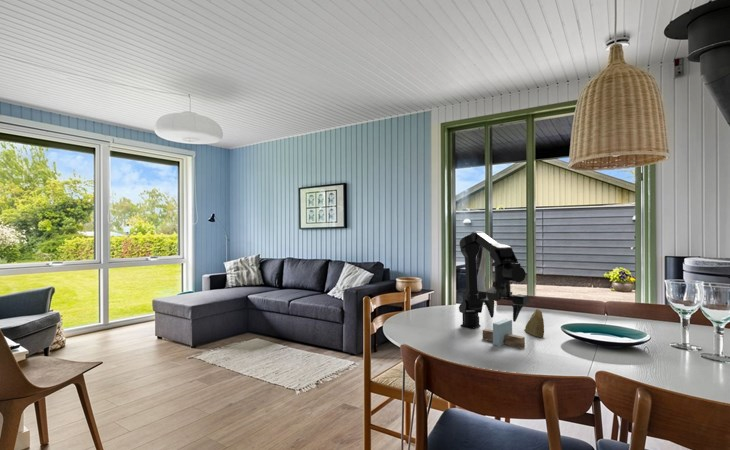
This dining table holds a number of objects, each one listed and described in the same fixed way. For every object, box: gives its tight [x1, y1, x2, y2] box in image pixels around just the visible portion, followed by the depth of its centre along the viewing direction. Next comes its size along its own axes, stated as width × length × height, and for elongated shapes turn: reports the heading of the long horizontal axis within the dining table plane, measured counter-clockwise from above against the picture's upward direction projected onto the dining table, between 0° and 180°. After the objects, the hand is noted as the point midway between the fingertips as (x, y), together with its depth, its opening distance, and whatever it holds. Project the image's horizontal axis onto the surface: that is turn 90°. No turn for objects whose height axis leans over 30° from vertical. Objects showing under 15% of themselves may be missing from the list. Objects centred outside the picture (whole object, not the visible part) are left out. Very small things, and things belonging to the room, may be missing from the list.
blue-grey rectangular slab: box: [492, 318, 513, 347], centre depth 149 cm, size 10×2×8 cm, turn 132°
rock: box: [524, 308, 545, 338], centre depth 160 cm, size 11×9×10 cm
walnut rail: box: [481, 328, 526, 349], centre depth 149 cm, size 16×2×4 cm, turn 42°
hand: (503, 319), depth 148 cm, fingers open, 9 cm apart
